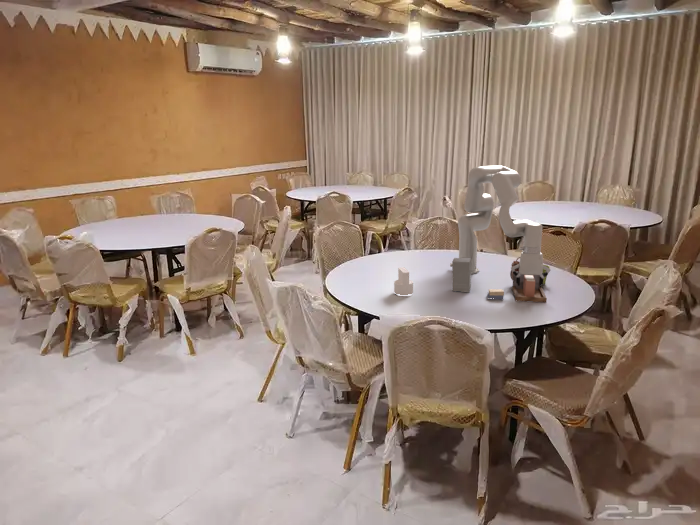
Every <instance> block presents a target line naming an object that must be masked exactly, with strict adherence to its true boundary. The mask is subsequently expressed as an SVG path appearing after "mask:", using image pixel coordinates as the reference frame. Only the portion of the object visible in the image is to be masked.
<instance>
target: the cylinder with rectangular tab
mask: <svg viewBox="0 0 700 525" xmlns="http://www.w3.org/2000/svg"><path fill="white" fill-rule="evenodd" d="M397 269H398V271H397V272H398V274H397V276H398V277H397V279H396V280H394V281H393V282H394V283H393V293H394V292H395V293H396V294H400V295H408V294H412V293H413V294H414V281H413V280H411V279H410V271H408V269H406V268H405V267H398V268H397Z"/></svg>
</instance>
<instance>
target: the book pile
mask: <svg viewBox="0 0 700 525" xmlns="http://www.w3.org/2000/svg"><path fill="white" fill-rule="evenodd" d="M504 296H505V290H503V288H502V289H501V288H500V289H498V288H497V289H496V288H493V289H492V288H490V289H488V291H487V293H486V298H492V299H491V300H494V299H503V300H504ZM493 298H494V299H493Z"/></svg>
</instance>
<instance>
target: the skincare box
mask: <svg viewBox="0 0 700 525" xmlns="http://www.w3.org/2000/svg"><path fill="white" fill-rule="evenodd" d="M451 263H452V271H451V272H452V273H451V274H452V292H453V291H461V292H460V293H470V292H471V291H470V290H471V286H472V284H471V283H472V282H471V281H472V280H471V279H472V277H471V276H472V274H471V258H459V257H454V258H453V259H452V262H451Z"/></svg>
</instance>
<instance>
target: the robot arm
mask: <svg viewBox="0 0 700 525" xmlns="http://www.w3.org/2000/svg"><path fill="white" fill-rule="evenodd" d="M521 181H522V177H521V175H520V173H519V172H518V171H516V170H514V169H511V168H509V167H507V166H503V165H496V164H495V165H483V166H476V167H475V166H474V167H473V168H471V169H470V170H469V172H468V175H467V189H466V195H465V200H464V205H463V208H464V210H465V212H467V213H468V214H467V213H466V214H463V215H461V216H460V217H459V218H458V220H457V226H458V234H459V235H458V236H459V237H458V238H459V241H458V258H471V275H474V274H478V273H479V272H480V269H479V267H477V262H478V260H477V259H478V257H477V256H478V237H477V235H476V233H475V232H477V231H485V230H487V229H488V228H489V226H490V224H491V220H492V216H493V212H494V207H495V205H494V204H495V202H494V198H493V196H492V195H491V194H489V193H485V185H484V184H492V187H493V189H494V192H495V194H496V196H497V198H498V201H499V203H500V208H499V212H498V221H499V224H500V228H501V229H502V232H503V234H505V236H507V237H508V238H517V237H523V245H522V246H520V247H519V250H521V253H520V256H519V257H520V258H519V264H517V265H515V266H513V267H512V266H511V267H510V271H511V270H512V272H513V274H514V275H515V276H516V283H517V284H518V286H520V275H522V274H524V275H540V277H539V286H540V287H541V286H542V287H543V285H544V284H543V279H544V277H546V276H548V275H549V274H550V273H551V267H550V268H548V267H546V266H544V265H545V264H544V256H543V253H542V252H541V250H542V239H543V224H541V223H539V222H534V221H532V220H530V219H517V220H512V217H511V215H510V208H511V207H512V206H514V205H516V203H517V202H519V198H520V197H519V196H518V193H517V191H516V189H517V188H518V187H519V186H521V183H522V182H521ZM449 265H450V267H452V262H451V263H450V264H449ZM516 268H519V272H518V273H517V272H516V271H515V269H516ZM543 269H545V270H546V272H545V273H543V274H542V272H543Z"/></svg>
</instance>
